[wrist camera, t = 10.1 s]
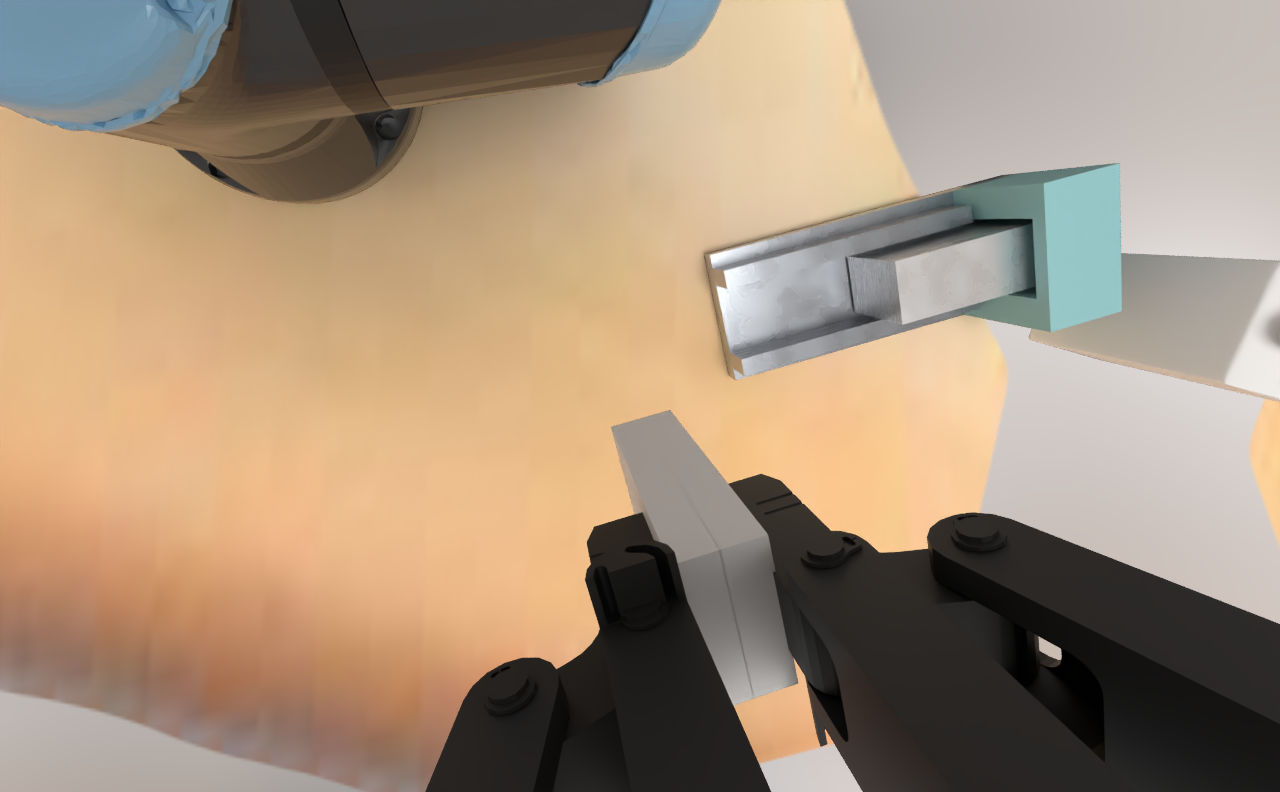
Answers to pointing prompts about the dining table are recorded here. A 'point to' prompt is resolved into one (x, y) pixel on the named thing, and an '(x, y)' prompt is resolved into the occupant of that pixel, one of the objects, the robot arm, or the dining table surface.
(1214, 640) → the robot arm
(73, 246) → the dining table surface
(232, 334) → the dining table surface
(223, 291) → the dining table surface
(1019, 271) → the sliding block
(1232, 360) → the milk carton
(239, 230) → the dining table surface
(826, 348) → the guide channel
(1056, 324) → the socket housing
